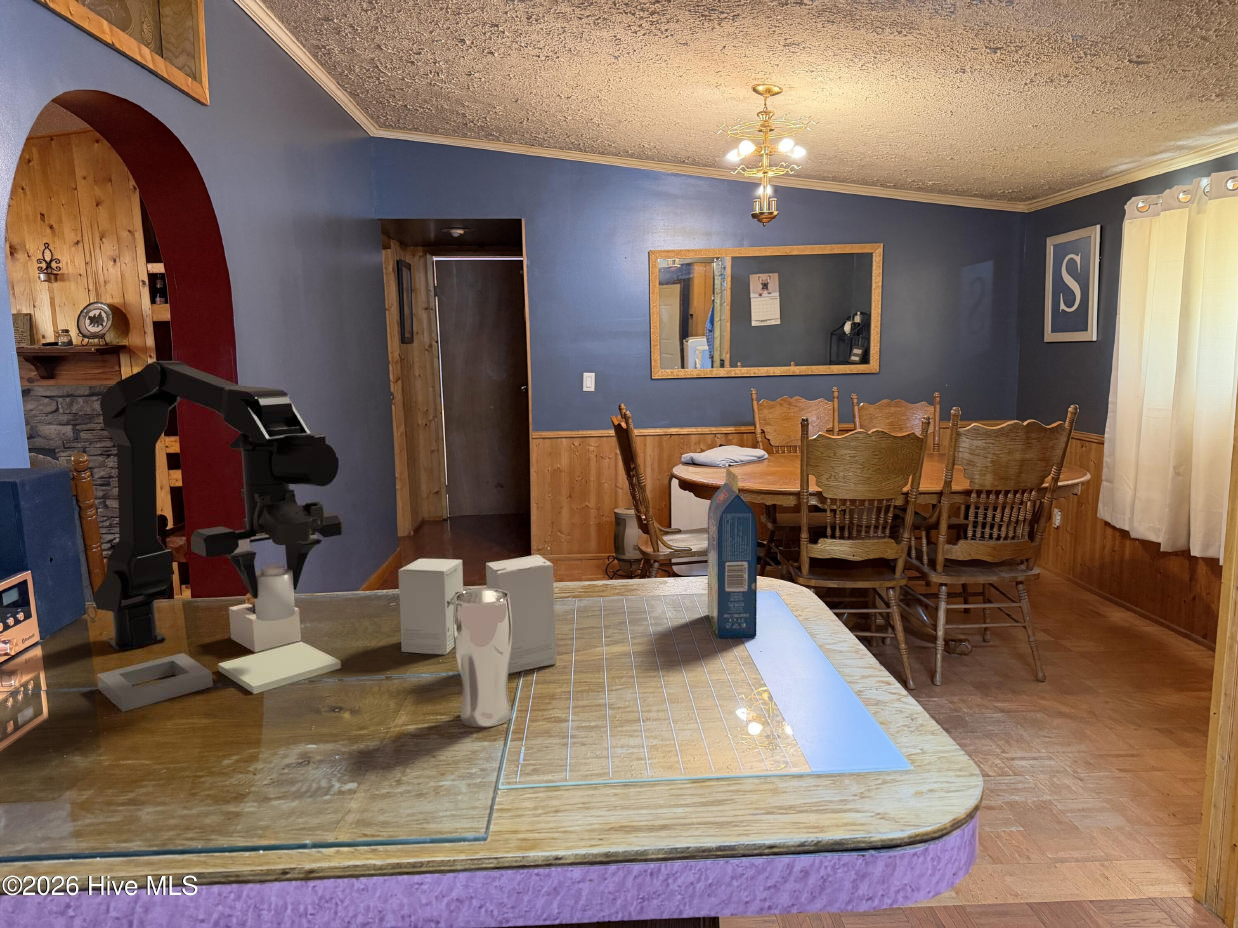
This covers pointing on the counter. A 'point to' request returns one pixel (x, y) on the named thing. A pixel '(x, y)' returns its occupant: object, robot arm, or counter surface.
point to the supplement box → (429, 604)
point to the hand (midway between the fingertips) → (274, 593)
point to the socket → (131, 697)
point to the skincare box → (528, 609)
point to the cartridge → (274, 593)
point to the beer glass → (483, 654)
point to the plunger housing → (262, 629)
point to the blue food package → (732, 562)
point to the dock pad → (278, 667)
